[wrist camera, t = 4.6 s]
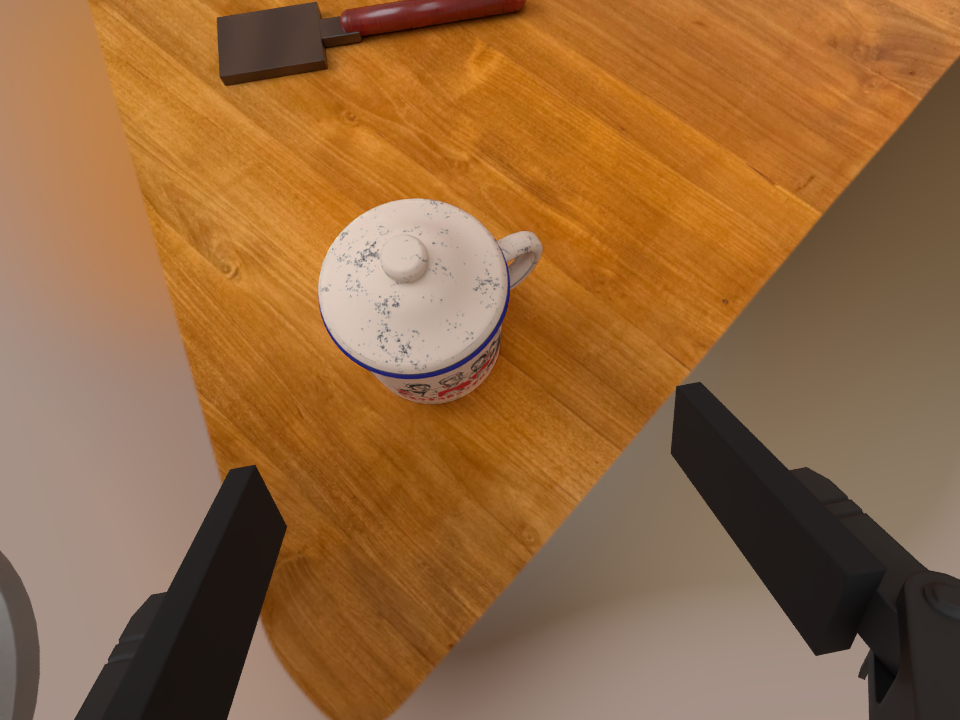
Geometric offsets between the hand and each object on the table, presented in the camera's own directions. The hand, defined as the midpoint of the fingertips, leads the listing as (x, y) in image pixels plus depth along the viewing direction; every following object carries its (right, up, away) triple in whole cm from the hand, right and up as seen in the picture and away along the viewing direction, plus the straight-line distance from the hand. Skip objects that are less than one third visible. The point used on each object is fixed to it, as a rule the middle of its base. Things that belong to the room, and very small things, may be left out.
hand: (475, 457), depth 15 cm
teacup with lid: (-2, +5, +16) cm, 17 cm away
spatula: (-8, +29, +22) cm, 38 cm away
